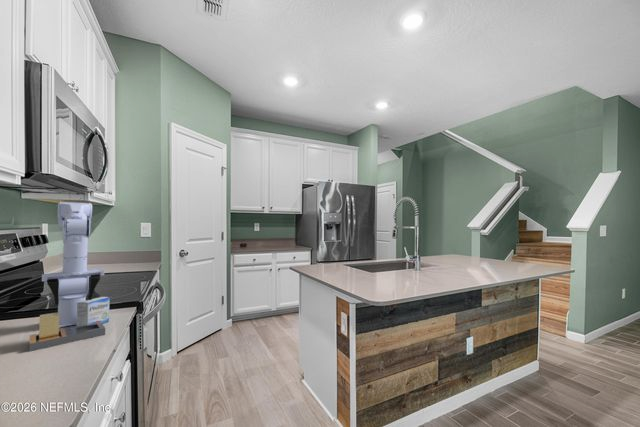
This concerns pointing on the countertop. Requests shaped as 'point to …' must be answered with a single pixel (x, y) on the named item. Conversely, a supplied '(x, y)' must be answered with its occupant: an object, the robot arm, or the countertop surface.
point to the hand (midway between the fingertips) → (73, 301)
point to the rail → (67, 336)
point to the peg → (49, 325)
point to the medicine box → (93, 311)
